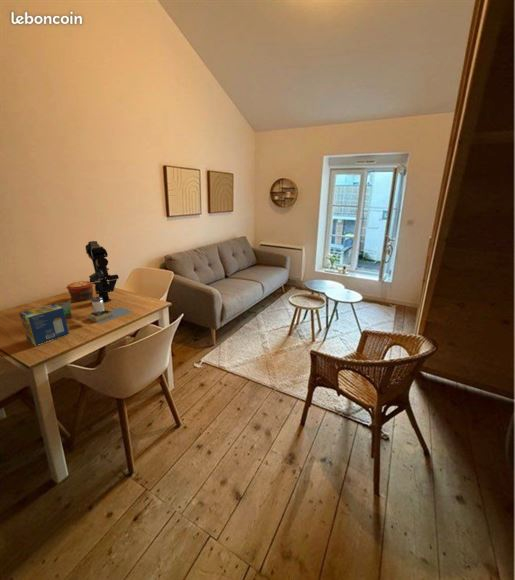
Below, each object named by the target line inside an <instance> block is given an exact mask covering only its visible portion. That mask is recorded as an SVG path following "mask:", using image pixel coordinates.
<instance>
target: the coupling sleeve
mask: <svg viewBox="0 0 515 580" xmlns="http://www.w3.org/2000/svg"><path fill="white" fill-rule="evenodd" d="M90 302H91V305H92V310H93V312H94V315H95V316H100V315H103V314H105V309H106V308H105V305H104V303H103V298H102V297H99V296H93V297H92V298H91V299H90Z"/></svg>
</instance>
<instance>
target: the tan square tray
mask: <svg viewBox="0 0 515 580" xmlns="http://www.w3.org/2000/svg"><path fill="white" fill-rule="evenodd" d="M104 309H105V314H103V315H100V316H95V315H94V311H92V312H89V313H87V318H88V320H90V321H92V320H93V321H92V322H94V321H95V322H94V323H96V322H99V321H102V320H105V319H108V318H111V317H113V314H112V312H111V311H110V310H109V309H106V308H104Z"/></svg>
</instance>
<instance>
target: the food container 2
mask: <svg viewBox="0 0 515 580" xmlns="http://www.w3.org/2000/svg"><path fill="white" fill-rule="evenodd" d="M92 283H93V282H91V283H90V280H87V281H85V280H83V281H81V280H80V281H77V282H75V281H74V282H72V283H70V284H67V286H66V287H65V288H66V289H67V291H68V293H69V295H70V298H71V300H72V301H73V302H85V301H88V300H91V298H94V290H93V289H94V288H93V285H94V284H92Z"/></svg>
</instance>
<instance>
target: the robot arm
mask: <svg viewBox="0 0 515 580" xmlns="http://www.w3.org/2000/svg"><path fill="white" fill-rule="evenodd" d="M85 252H86V255H87V257H88V258H89V259H90V260H91V261H92V262H91V263H92V265H93V269H94V273H92V274H90V275H89V276H88V277H89V281H90V283H91V282H92V284H93V285H94V291H95V294H96V295H98V297H102V298H103V304H104V303H107V302H111V301H112V299H111V298H110V297H109V293H111V292H114V291H115V287H116V284H117V282H118V279H120V277H119V275H118V274H109V270H110V268H109V267H107V266H108V265H109V260H108V259H107V258H108V256H109V255H108V251H107V249H106V248H104V246H101V245H100V244H99V243H98V241H97V240H96V241H95V240H92V241H88V242H87V244H86V245H85Z"/></svg>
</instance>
